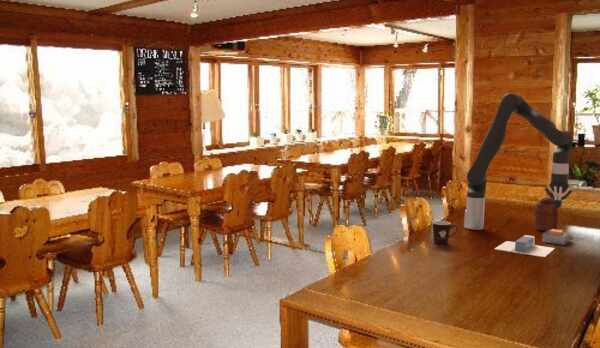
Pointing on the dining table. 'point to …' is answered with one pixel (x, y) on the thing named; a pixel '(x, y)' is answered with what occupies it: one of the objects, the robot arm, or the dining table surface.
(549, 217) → the wooden figurine
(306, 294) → the dining table surface
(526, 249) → the eraser
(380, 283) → the dining table surface
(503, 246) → the paper sheet
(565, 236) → the button housing
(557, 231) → the button cap
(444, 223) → the coffee mug
